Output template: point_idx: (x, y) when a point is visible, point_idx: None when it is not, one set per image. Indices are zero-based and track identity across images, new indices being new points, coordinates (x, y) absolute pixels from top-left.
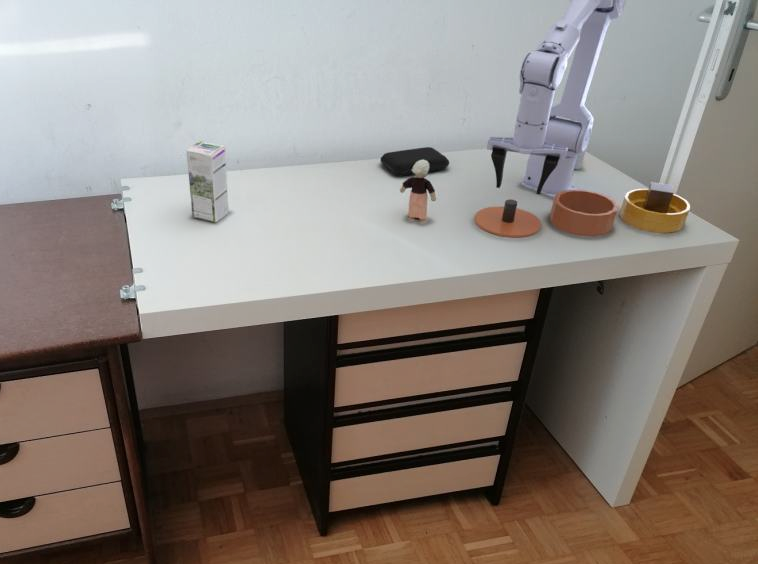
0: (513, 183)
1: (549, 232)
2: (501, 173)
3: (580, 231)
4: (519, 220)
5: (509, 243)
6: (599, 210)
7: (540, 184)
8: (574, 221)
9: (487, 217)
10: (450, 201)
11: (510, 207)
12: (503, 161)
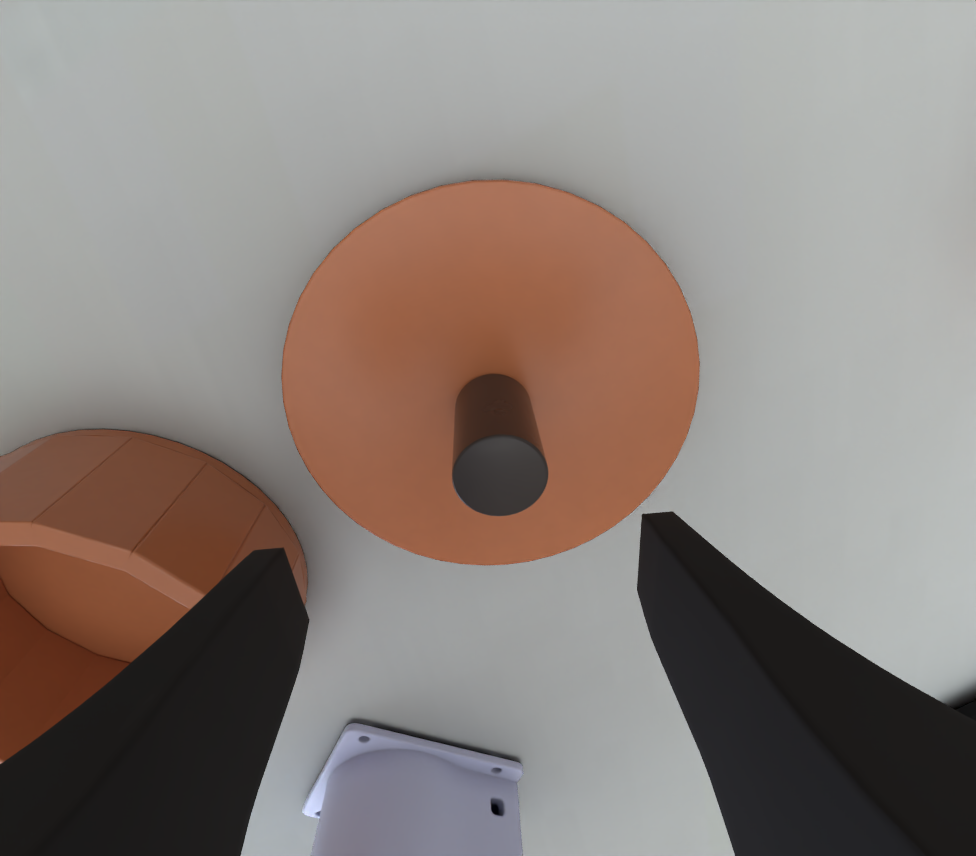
0: (556, 767)
1: (244, 419)
2: (717, 641)
3: (43, 448)
4: (426, 437)
5: (407, 136)
6: (87, 687)
7: (205, 621)
8: (56, 482)
9: (620, 386)
10: (831, 522)
11: (490, 422)
12: (835, 838)
